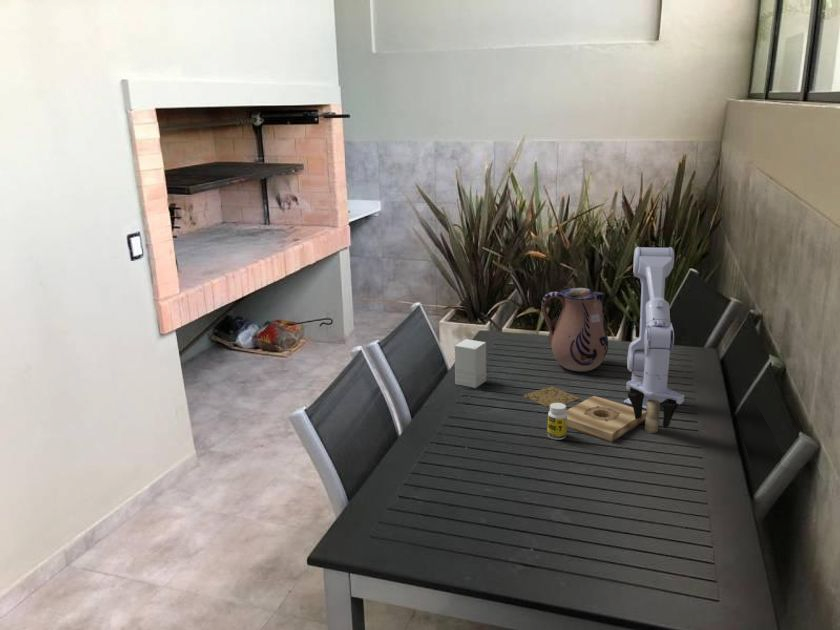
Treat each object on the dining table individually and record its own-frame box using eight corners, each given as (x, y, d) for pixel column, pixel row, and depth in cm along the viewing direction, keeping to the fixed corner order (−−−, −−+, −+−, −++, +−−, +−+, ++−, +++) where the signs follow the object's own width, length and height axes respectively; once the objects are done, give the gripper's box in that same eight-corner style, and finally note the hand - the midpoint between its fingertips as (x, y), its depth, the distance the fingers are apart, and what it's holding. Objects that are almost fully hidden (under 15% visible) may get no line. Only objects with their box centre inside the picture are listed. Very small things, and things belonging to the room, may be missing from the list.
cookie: (582, 400, 197) (582, 397, 197) (552, 410, 190) (552, 407, 190) (552, 387, 206) (552, 384, 206) (522, 397, 200) (522, 394, 199)
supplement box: (486, 380, 211) (487, 342, 208) (475, 388, 205) (475, 349, 202) (465, 376, 215) (465, 338, 212) (454, 384, 209) (453, 345, 206)
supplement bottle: (544, 438, 173) (545, 407, 171) (550, 430, 177) (551, 400, 175) (563, 441, 171) (564, 410, 169) (568, 434, 175) (569, 403, 173)
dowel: (648, 426, 179) (650, 398, 176) (660, 430, 176) (662, 401, 174) (642, 430, 176) (644, 401, 174) (654, 434, 174) (656, 405, 172)
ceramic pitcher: (612, 376, 213) (617, 298, 206) (544, 377, 213) (547, 299, 206) (599, 357, 229) (603, 285, 222) (536, 358, 230) (538, 286, 223)
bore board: (593, 403, 193) (593, 395, 193) (646, 419, 182) (646, 411, 182) (556, 423, 181) (557, 415, 180) (611, 442, 170) (611, 433, 170)
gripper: (621, 369, 174) (618, 418, 178) (676, 383, 164) (672, 435, 168) (635, 362, 179) (631, 410, 183) (689, 375, 169) (684, 426, 173)
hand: (651, 421), depth 176 cm, fingers open, 7 cm apart
